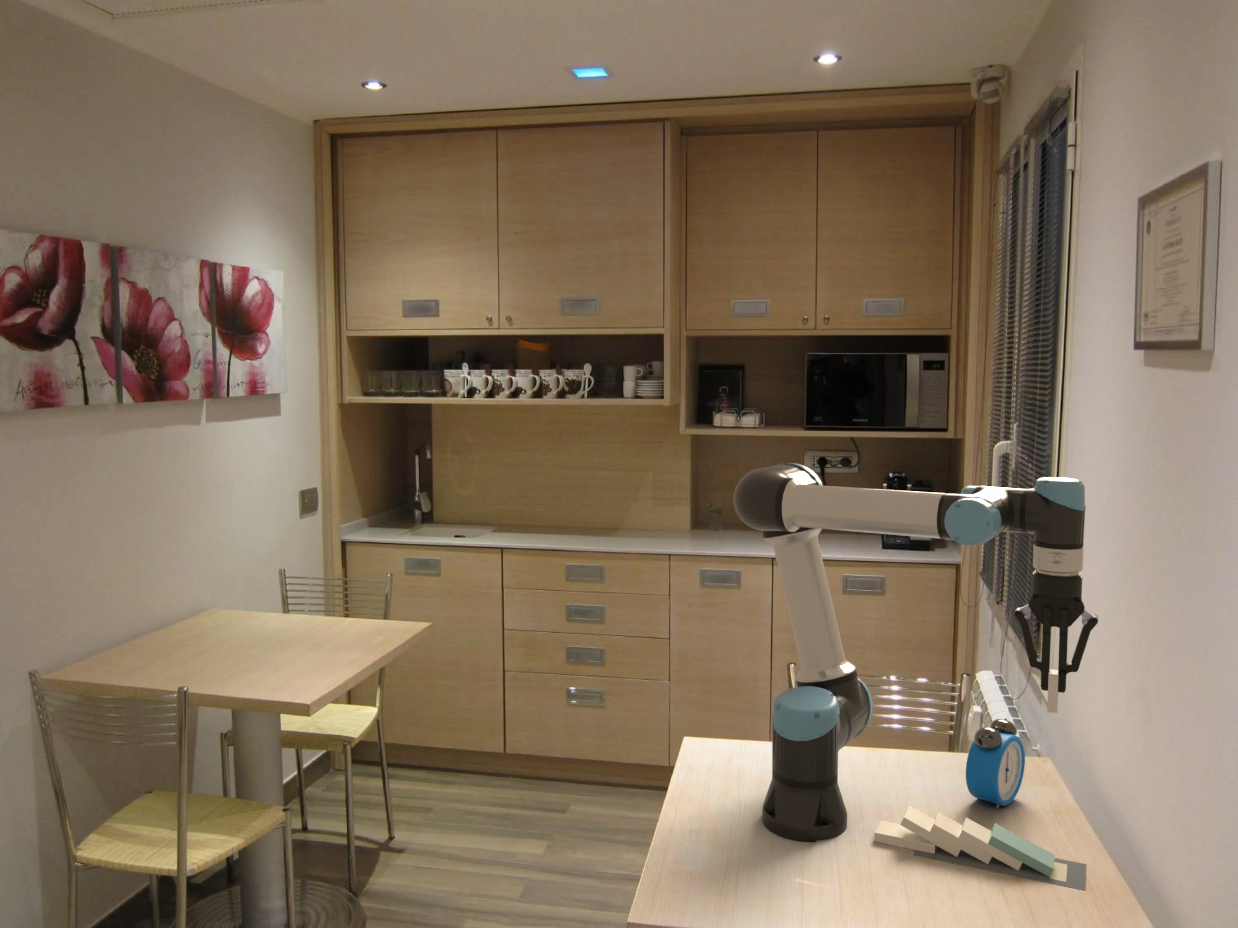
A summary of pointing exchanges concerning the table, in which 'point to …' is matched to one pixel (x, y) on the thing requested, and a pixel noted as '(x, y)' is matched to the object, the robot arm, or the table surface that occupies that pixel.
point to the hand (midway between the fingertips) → (1052, 709)
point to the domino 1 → (902, 837)
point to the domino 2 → (926, 829)
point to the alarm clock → (996, 763)
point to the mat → (1061, 875)
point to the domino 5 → (1022, 849)
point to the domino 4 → (985, 842)
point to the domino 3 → (956, 836)
